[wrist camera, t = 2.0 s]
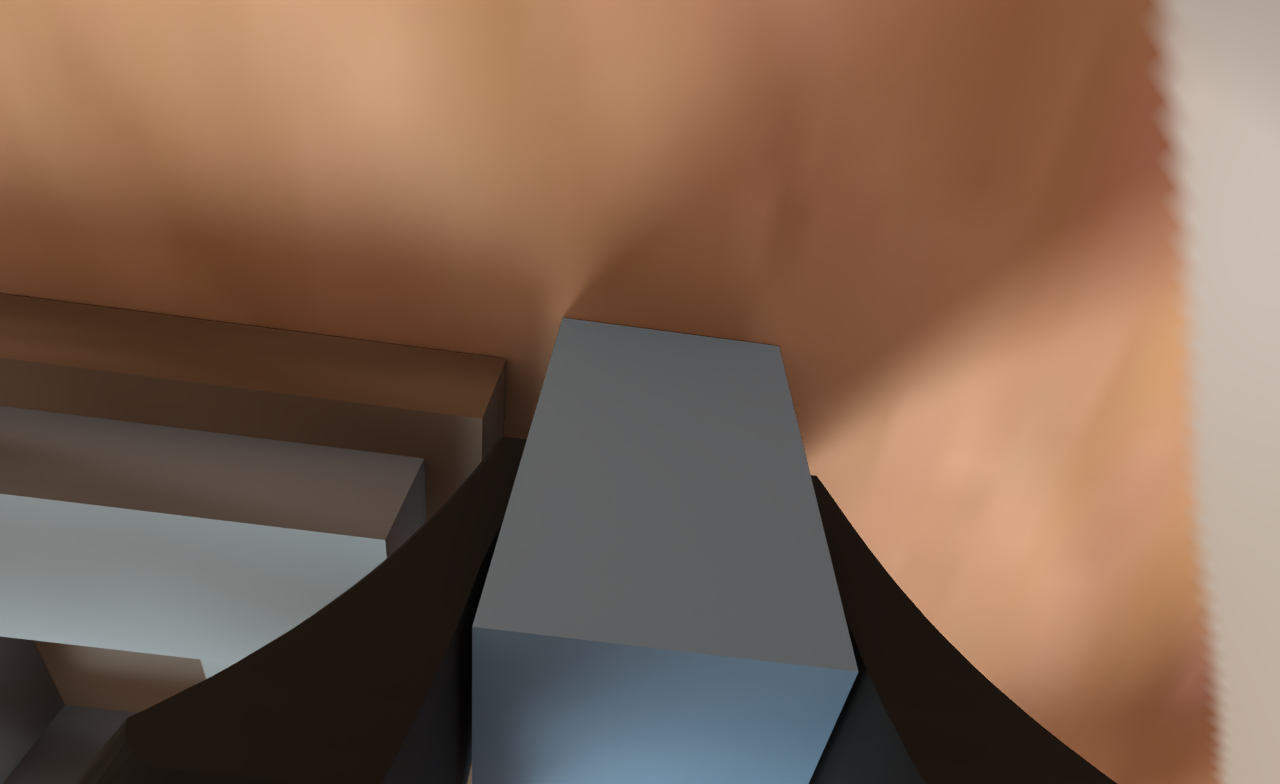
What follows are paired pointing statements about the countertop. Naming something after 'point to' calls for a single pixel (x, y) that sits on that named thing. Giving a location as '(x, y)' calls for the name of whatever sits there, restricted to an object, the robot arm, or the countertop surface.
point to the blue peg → (659, 576)
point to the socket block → (197, 500)
